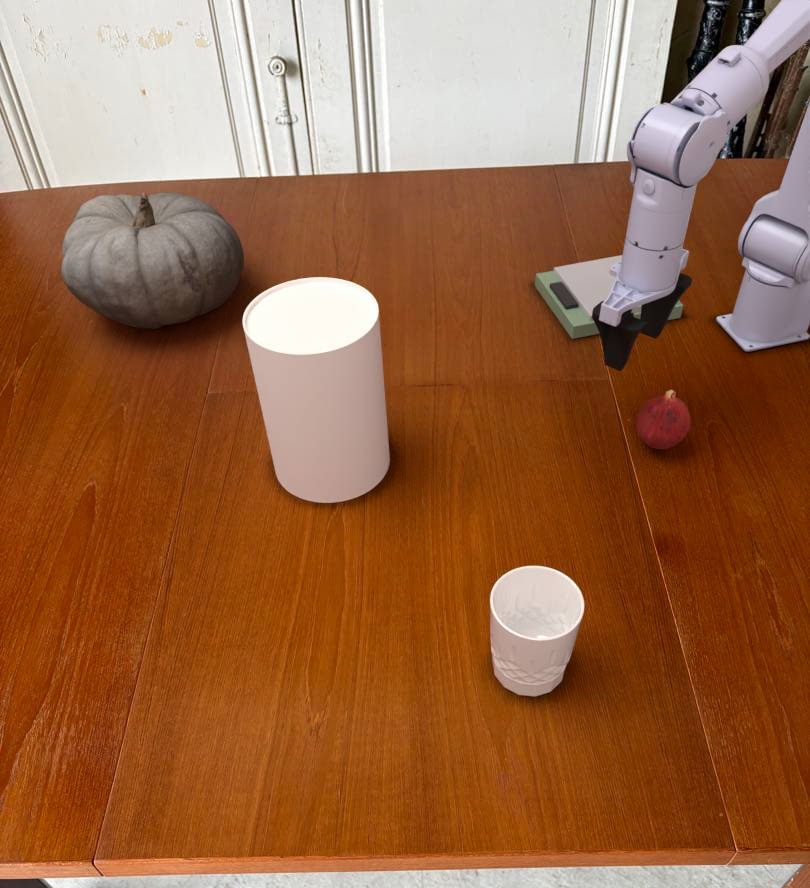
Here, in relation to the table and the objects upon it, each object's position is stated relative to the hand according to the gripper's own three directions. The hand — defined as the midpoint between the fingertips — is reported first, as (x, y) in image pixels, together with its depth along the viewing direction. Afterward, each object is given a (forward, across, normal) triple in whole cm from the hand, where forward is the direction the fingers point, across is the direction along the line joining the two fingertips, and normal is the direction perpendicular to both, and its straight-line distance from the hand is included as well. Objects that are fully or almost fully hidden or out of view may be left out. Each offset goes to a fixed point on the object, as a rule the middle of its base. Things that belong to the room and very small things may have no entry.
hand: (632, 350), depth 92 cm
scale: (+10, -21, -15) cm, 27 cm away
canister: (+10, +28, -22) cm, 37 cm away
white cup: (+10, +36, +12) cm, 39 cm away
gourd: (+10, +19, -65) cm, 69 cm away
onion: (+10, +2, +6) cm, 12 cm away
